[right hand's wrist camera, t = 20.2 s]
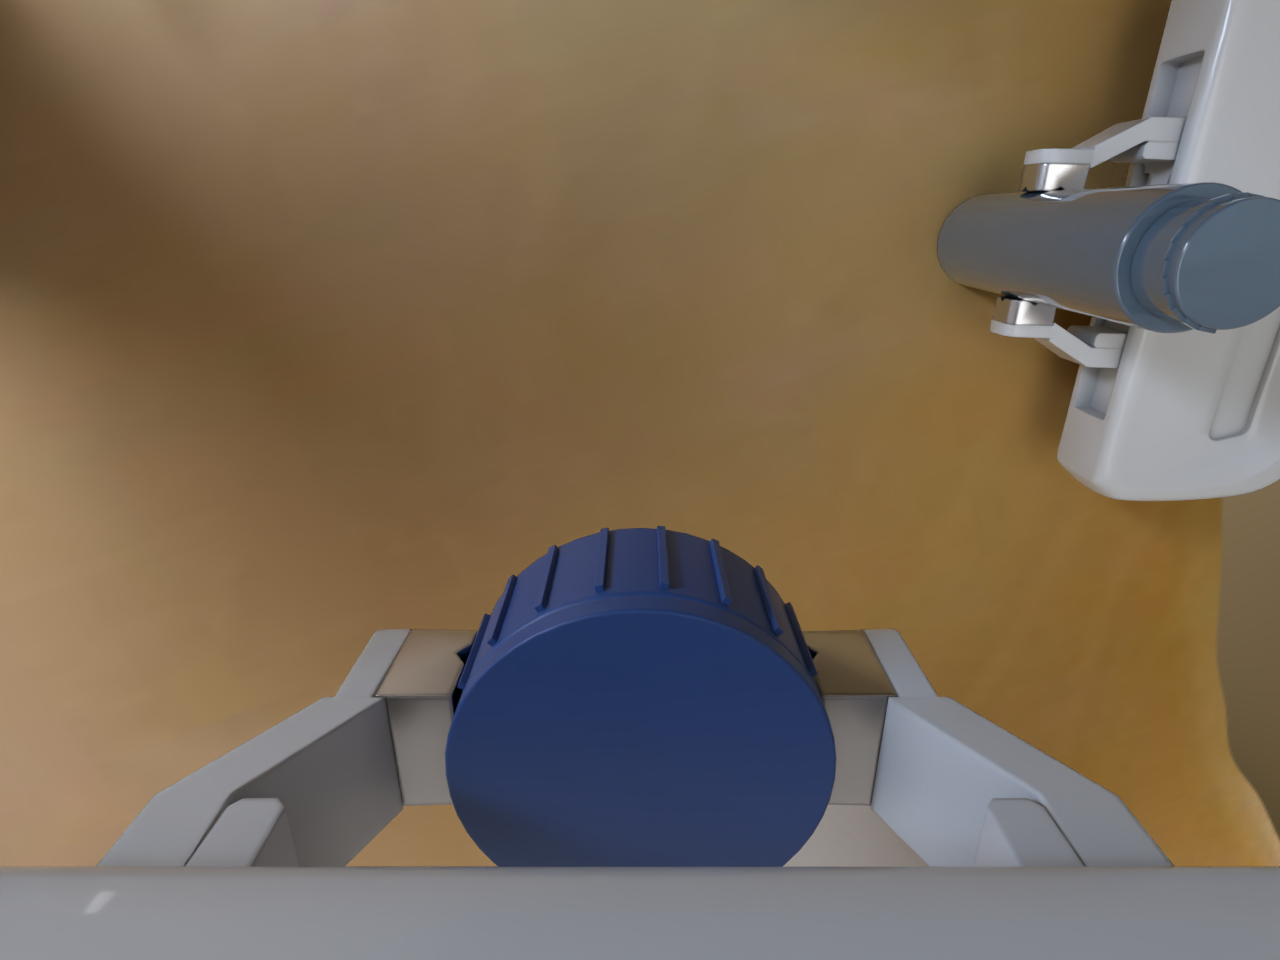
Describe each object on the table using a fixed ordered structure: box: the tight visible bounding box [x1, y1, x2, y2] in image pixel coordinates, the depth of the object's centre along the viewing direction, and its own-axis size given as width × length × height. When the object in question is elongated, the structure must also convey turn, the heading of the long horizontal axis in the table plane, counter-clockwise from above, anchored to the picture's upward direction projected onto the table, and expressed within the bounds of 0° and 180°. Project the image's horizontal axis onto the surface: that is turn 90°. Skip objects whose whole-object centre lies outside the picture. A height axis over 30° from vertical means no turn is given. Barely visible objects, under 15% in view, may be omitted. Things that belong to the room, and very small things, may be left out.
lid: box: [445, 526, 837, 867], centre depth 10 cm, size 5×5×2 cm
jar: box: [937, 182, 1280, 334], centre depth 25 cm, size 4×4×16 cm
